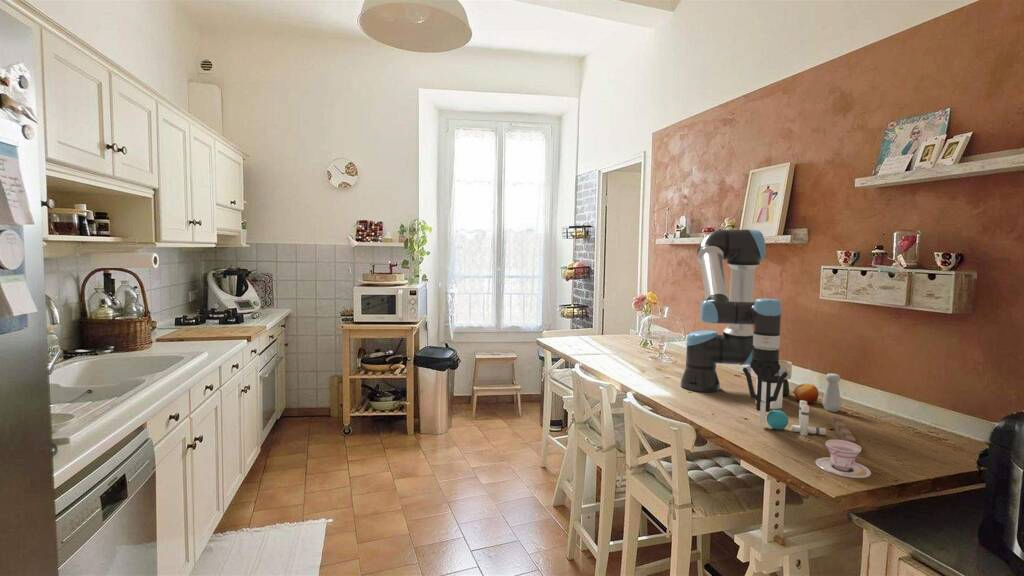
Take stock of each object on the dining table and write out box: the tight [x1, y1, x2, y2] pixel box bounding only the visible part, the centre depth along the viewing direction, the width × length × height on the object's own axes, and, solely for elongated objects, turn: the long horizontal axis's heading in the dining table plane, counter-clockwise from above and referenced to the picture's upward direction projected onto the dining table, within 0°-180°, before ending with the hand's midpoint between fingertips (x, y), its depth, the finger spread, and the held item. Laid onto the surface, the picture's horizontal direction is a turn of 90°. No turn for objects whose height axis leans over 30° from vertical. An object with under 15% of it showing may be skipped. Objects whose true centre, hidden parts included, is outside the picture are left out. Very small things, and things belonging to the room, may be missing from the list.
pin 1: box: [798, 400, 808, 426], centre depth 157 cm, size 2×2×9 cm
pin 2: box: [799, 404, 810, 437], centre depth 153 cm, size 2×2×9 cm
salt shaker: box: [821, 373, 842, 413], centre depth 178 cm, size 6×6×13 cm
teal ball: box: [766, 409, 789, 431], centre depth 158 cm, size 6×6×6 cm
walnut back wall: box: [831, 415, 858, 445], centre depth 151 cm, size 24×2×3 cm, turn 157°
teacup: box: [815, 439, 872, 479], centre depth 129 cm, size 12×12×6 cm
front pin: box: [790, 424, 827, 436], centre depth 154 cm, size 2×2×9 cm
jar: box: [755, 372, 784, 410], centre depth 182 cm, size 9×8×12 cm
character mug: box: [778, 359, 793, 396], centre depth 197 cm, size 11×7×13 cm, turn 3°
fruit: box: [793, 383, 820, 405], centre depth 188 cm, size 8×8×8 cm
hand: (762, 421), depth 160 cm, fingers closed
